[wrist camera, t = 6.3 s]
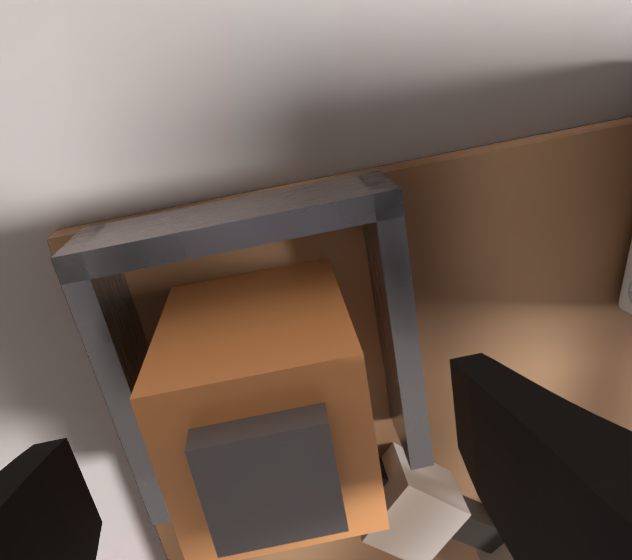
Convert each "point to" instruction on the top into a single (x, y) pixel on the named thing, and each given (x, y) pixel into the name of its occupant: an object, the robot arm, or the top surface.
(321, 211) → the frame
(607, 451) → the robot arm
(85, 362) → the top surface
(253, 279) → the plug
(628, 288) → the light bulb box
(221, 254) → the board
